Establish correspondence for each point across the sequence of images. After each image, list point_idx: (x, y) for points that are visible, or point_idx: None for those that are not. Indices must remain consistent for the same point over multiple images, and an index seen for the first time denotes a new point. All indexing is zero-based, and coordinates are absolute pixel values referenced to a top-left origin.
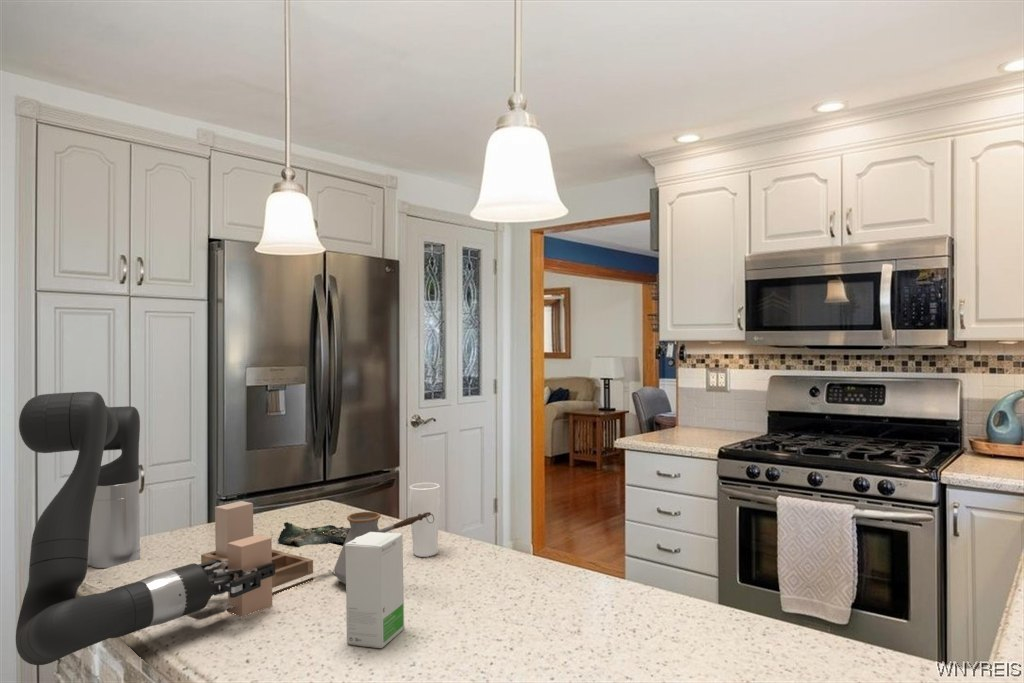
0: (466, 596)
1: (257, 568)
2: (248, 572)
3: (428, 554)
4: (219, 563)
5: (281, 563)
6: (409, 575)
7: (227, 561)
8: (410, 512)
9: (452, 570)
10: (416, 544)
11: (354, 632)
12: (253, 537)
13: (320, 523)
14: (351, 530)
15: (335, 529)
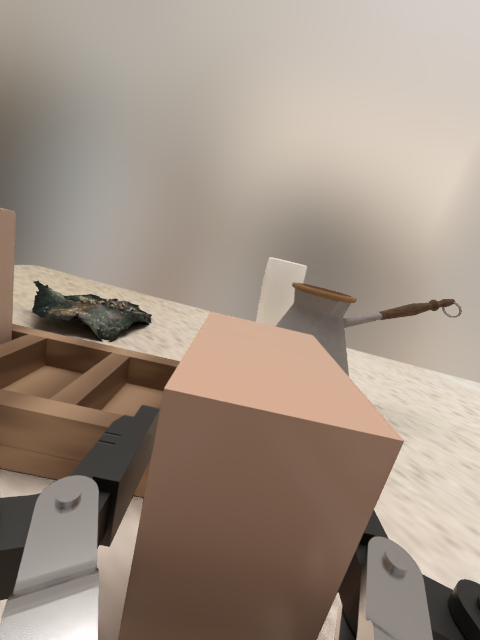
0: (441, 418)
1: (370, 530)
2: (429, 635)
3: None
4: (64, 627)
5: (122, 375)
6: None
7: (79, 498)
8: (272, 293)
9: None
10: None
11: None
12: (232, 327)
13: (64, 290)
14: (315, 315)
15: (108, 301)
